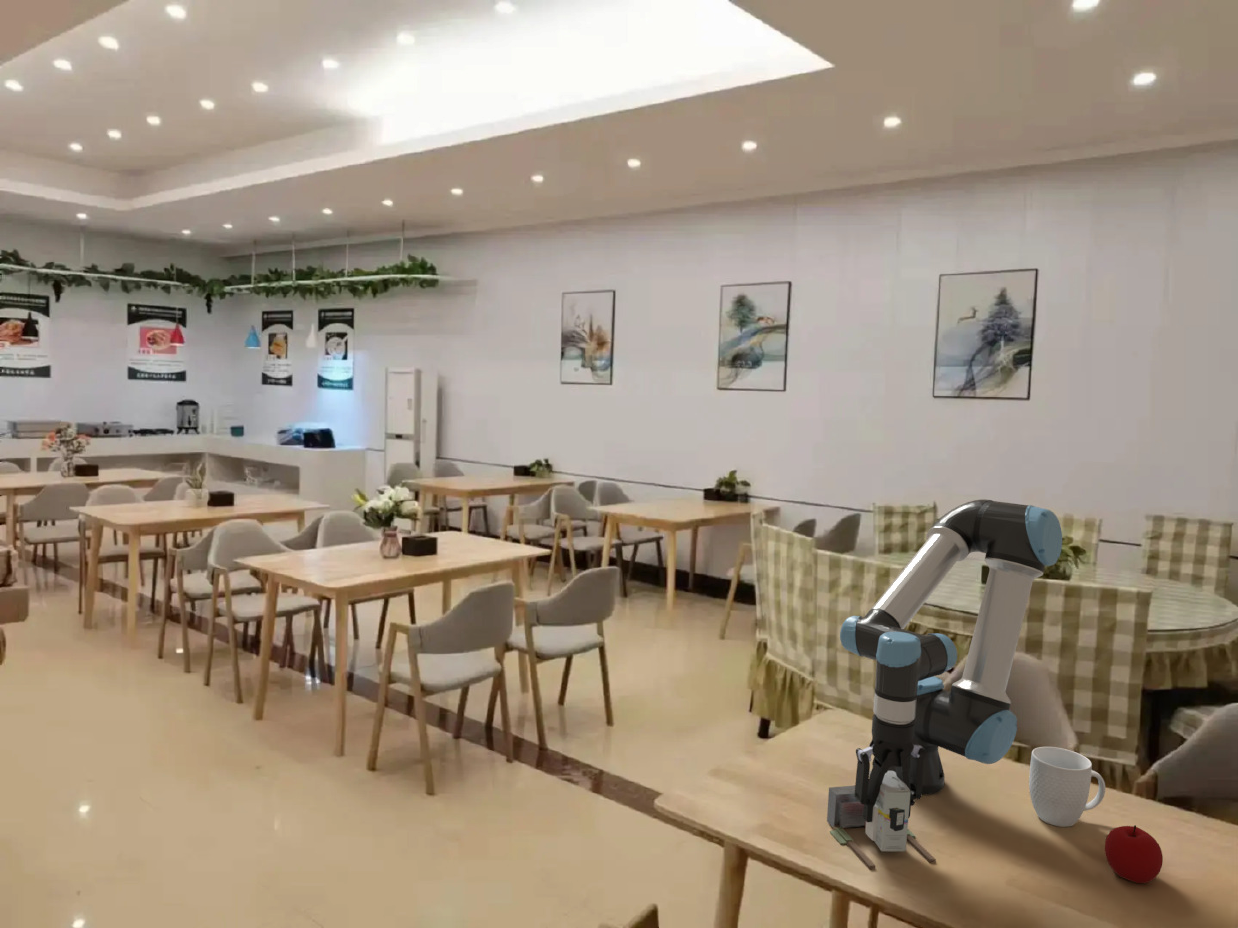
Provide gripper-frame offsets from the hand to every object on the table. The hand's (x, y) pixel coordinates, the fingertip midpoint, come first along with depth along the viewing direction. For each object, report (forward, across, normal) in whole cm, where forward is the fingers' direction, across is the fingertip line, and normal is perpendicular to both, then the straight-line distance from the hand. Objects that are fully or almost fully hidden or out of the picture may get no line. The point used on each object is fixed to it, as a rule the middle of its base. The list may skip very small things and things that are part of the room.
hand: (885, 835), depth 164 cm
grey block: (+2, 0, -9) cm, 9 cm away
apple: (+3, -40, +17) cm, 43 cm away
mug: (+3, -42, -4) cm, 42 cm away
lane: (+2, 0, 0) cm, 2 cm away
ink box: (+1, 0, 0) cm, 1 cm away
